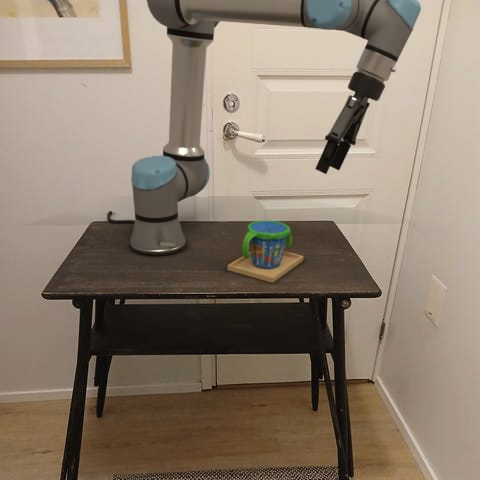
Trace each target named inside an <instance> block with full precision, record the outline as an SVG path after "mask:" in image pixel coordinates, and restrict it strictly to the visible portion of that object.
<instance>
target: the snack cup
mask: <svg viewBox="0 0 480 480" xmlns="http://www.w3.org/2000/svg"><path fill="white" fill-rule="evenodd" d="M292 237H293V236H292V230H291V228H290V227H289V225H287V224H285V223H284V222H280V221H276V220H256V221H253V222H250V223H249V224H247V233H246V235H245V236H244V239H243V241H242V245H241V255H242V256H243V257H244V258H247V259H248V258H249V252H251V258H252V262H253V264H254V265H255V266H256V267H261V268H269V269H271V268H274V267H277V266H279V265H280V263H281V260H282V256H283V252H284V251H285V248H286V247H288V248H289V247H291V246H292V244H293V238H292Z"/></svg>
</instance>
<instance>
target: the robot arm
mask: <svg viewBox="0 0 480 480" xmlns="http://www.w3.org/2000/svg"><path fill="white" fill-rule="evenodd" d="M146 4H147V7H148V10H149V12H150V14H151V16H152V17H153V18H154V20H156V22H157V23H159V24H161V25H163V26H164V27H165V28H166V37H168V39H169V40H170V41H171V43H172V51H171V74H170V76H171V77H170V99H169V100H170V101H169V102H170V103H169V104H170V105H169V106H170V107H169V126H168V128H169V129H168V142H167V143H166V144H165V145H164V146H163V147H162V155H152V156H146V157H142V158H140V159H138V160H137V161H134V162H133V164H132V166H131V176H130V177H131V178H130V180H131V181H130V182H131V186H132V197H133V207H134V208H133V209H134V219H135V220H133V219H112V218H111V216H112V215H113V211H112V210H109V211H108V213H107V215H106V220H108V222H109V223H113V224H124V223H125V224H127V223H128V224H133V228H132V233H131V236H130V248H131V250H132V251H133V252H135V253H138V254H141V255H145V256H155V257H157V256H159V257H160V256H167V255H174V254H176V253H179V252H181V251H183V250H184V249H185V248H186V245H187V244H186V243H187V242H186V236H185V234H184V232H183V230H182V226H181V222H180V220H179V207H178V206H179V204H178V203H179V202H181V201H183V200H186V199H188V198H191V197H194V196H196V195H198V194H199V193H200V192H201V191H203V190H204V188H206V187H207V185H208V183H209V180H210V176H211V175H210V174H211V171H210V166H209V163H208V162H207V159H206V158H205V153H206V152H205V149H204V148H203V147H202V146H201V135H202V133H201V132H202V120H203V106H204V92H205V78H206V77H205V76H206V65H207V51H208V50H207V49H208V47H209V46H210V45H211V44H212V43H214V39H215V38H214V37H215V28H216V27H217V26H218V25H219V24H220V23H221V22H227V23H237V24H238V23H240V24H254V25H267V26H279V27H280V26H283V27H294V28H295V27H297V28H308V29H316V30H317V29H318V30H319V29H320V30H322V31H323V30H327V31H341V32H346V33H348V34H350V35H354V36H356V37H357V38H358V37H359V38H361V39H363V40H366V41H367V42H366V45H365V47H364V49H363V50H362V52H361V55H360V57H359V60H358V61H357V64H356V66H355V67H356V68H355V69H357V71H354V72H353V73H352V76H351V78H350V80H349V83H348V84H347V89H348V90H350V91H352V92H354V94H353V95H351V94H349V95H348V97H347V99H346V102H345V104H344V106H343V108H342V109H341V110H340V113H339V115H338V116H337V118H336V119H335V122H334V123H333V125H332V127H331V129H330V130H329V132H328V133H327V134H325V137H324V140H325V141H327V142H326V144H325V146H324V148H323V151H322V153H321V154H320V157H319V160H318V161H317V164H316V166H315V168H314V169H315V171H318V172H320V173H323V174H324V175H327V173H328V172H329V170H330V168H333V169H334V170H337V171H340V170H341V168H342V166H343V164H344V161H345V160H346V157H347V155H348V153H349V151H350V149H351V147H352V146H355V145H356V144H357V138H358V134H359V132H360V129H361V126H362V123H363V121H364V119H365V116H366V114H367V111H368V108H369V107H370V102H369V99H370V100H372V101H375V102H378V101H379V100H380V99H381V96H382V94H383V92H384V91H385V88H386V83H385V82H388V81H389V79H390V77H391V75H392V73H395V72H396V71H397V68H396V67H395V66H396V64H397V63H398V60H399V59H400V57H401V55H402V53H403V50H404V49H405V47H406V44H407V42H408V40H409V38H410V36H411V34H412V32H413V31H414V28H415V25H416V23H417V21H418V18H419V15H420V13H421V10H422V6H421V3H420V2H419V1H418V0H146Z"/></svg>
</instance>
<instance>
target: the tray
mask: <svg viewBox="0 0 480 480" xmlns="http://www.w3.org/2000/svg"><path fill="white" fill-rule="evenodd" d="M303 261H304V255H301V254H297V253H294V252H290V251H286V250H284V252H283V256H282V260H281V263H280V265H279V266H277V267H274V268H271V269H269V268H261V267H256V266H255V265H254V264H253V262H252V258H251V251H249V258H248V259H247V258H244V257H243V255H242V256H241V257H239V258H238V259H235V260H234V261H232V262H230V263H229V264H227V266H226V267H227V268H226V269H227V271H229V272H233V273H237V274H240V275H244V276H247V277H251V278H254V279H258V280H260V281H261V280H262V281H264V282H267V283H272V284H274V283H275V282H276V281H278V280H279V279H280V278H282V277H283V276H284V275H286V274H287V273H288V272H289V271H292V269H294V268H295V267H296V266H298V265H299V264H301V263H302V262H303Z"/></svg>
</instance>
